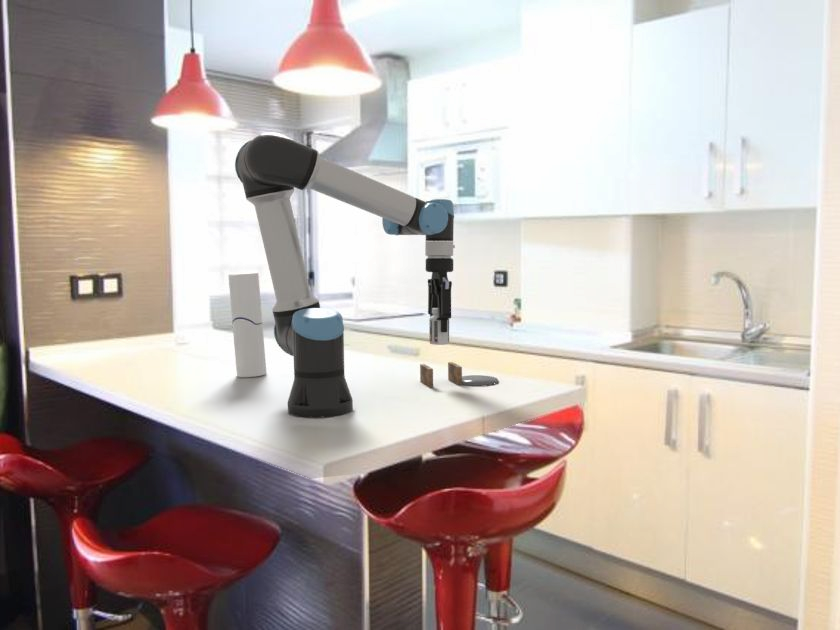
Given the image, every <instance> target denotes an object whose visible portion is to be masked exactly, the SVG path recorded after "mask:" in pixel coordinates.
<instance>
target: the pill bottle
mask: <svg viewBox="0 0 840 630" xmlns="http://www.w3.org/2000/svg"><path fill="white" fill-rule="evenodd" d="M432 314H433V316H431V317H429V319H428V320H429V323H428V325H429V326H428V327H429V331H428V332H429V344H430V345H435V346H437V345H438V320H436V319H437V318H439V312H438V308H432ZM448 344H450V319H449V320H448ZM440 345H441V346H444V345H446V344H440ZM440 345H439V346H440Z"/></svg>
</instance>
